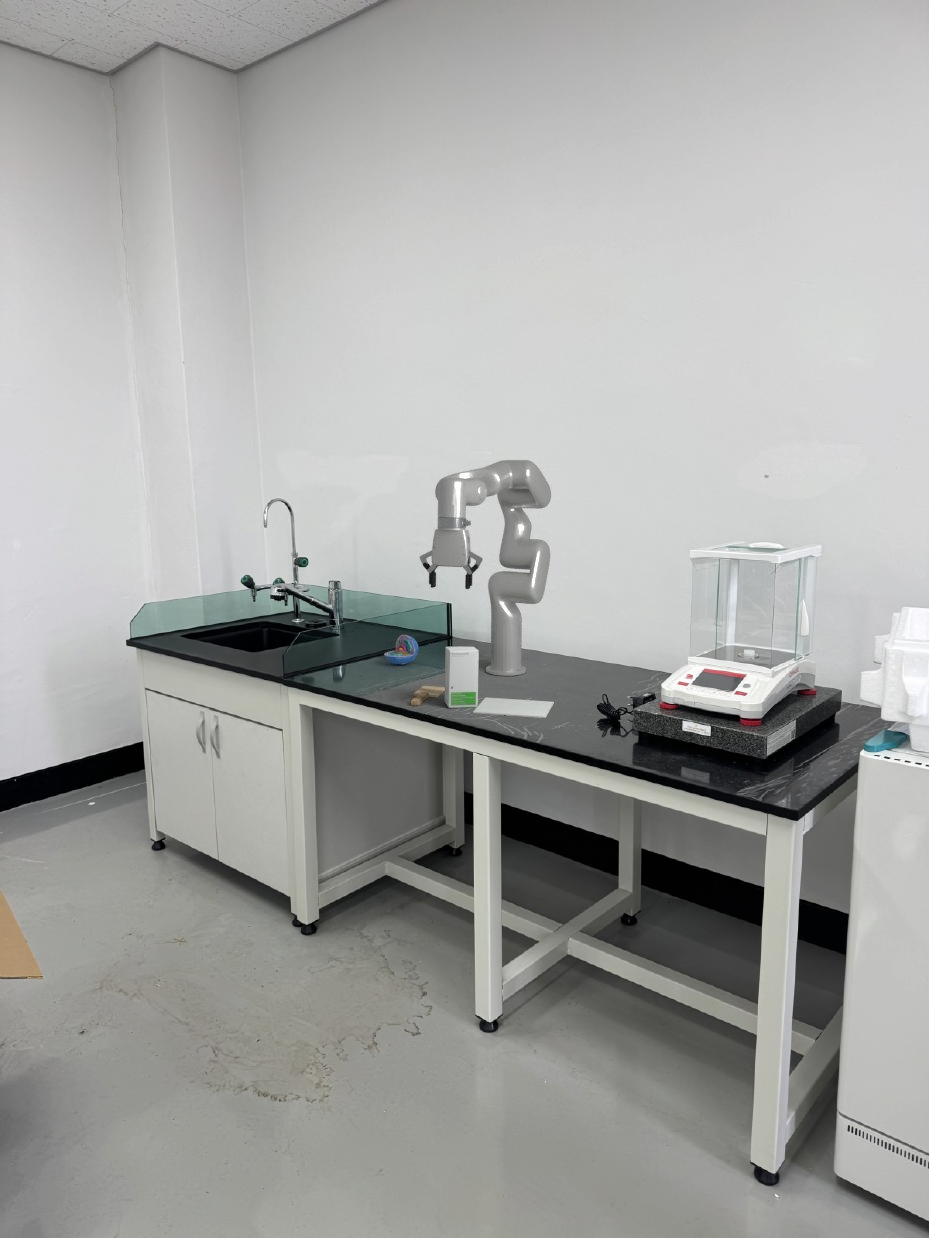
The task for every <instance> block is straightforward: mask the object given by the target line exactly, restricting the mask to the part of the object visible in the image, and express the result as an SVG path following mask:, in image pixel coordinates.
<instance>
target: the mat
mask: <svg viewBox="0 0 929 1238" xmlns="http://www.w3.org/2000/svg"><path fill="white" fill-rule="evenodd" d="M554 703H555V702H554V701H545V700H534V699H533V700H529V699H516V698H515V699H514V698H513V699H512V698H502V697H485V698H483V700H482V701H481V702H480V703H478V707H475V708H474V710H473V711H472V714H478V715H492V716H504V715H506V716H507V717H519V718H520V717H521V718H535V719H546V718H547V716H548V715H549V713H550V711H551V709H552V708H553V706H554ZM506 716H505V717H506Z"/></svg>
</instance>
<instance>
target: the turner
mask: <svg viewBox="0 0 929 1238" xmlns="http://www.w3.org/2000/svg"><path fill="white" fill-rule="evenodd" d="M443 691H444V692H445V686H436V685H422V686H421V687H419V688H418V689H417V690H416V691H414V693H412V696H413V697H414V698H412V699H411V700H410V705H411V706H420V705H421V704H422V703H423V702H424V701H425V700H426V699H428V698H429V697H430V698H438V697H439V696H440V695H442V694H443V693H444V692H443Z"/></svg>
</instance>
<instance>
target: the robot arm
mask: <svg viewBox="0 0 929 1238" xmlns="http://www.w3.org/2000/svg"><path fill="white" fill-rule="evenodd" d="M434 494H435V498H436V500H437V529H436V528H435V529H434V533H433V537H432V538H433V540H432V548H431V550H430V551H428V552H426V553H423V554H422V555H420V556H419V560H420V562H421V564H422V566H423V568H424V569H425V570H426V571H427V573H428V585H430V588H431V589H432V588H433V589H434V588H435V587H437V572H436V570H437V568H439V567H448V568H449V567H451V568H463V569H464V571H465V572H466V574H465V578H464V579H465V580H464V583H465V586H464V589H465V590H469V589H470V590H471V587H472V586H473V574H474V573H475V572H476V571H477V570H478V569H479V568H480V566H481V564H482V562H483V557H482V556H479V555H478V554H476V553H474V552H472V551H471V550H472V549H471V538H470V531H469V529H467V527H468V526H469V527H470V526H471V525H472V521H471V520H468V519H467V518H466V514H467V512H466V511H467V507H475V506H480V505H481V504H483V503H484V502H485V500H486V498H487V497H488V498H489V497H493V496H497V501H498V504H499V506H500V509H501V512H502V515H503V519H504V526H503V527H504V528H503V535H502V539H501V544H500V549H499V556H498V560H499V563H500V565H501V566H502V567H504V568H507V569H510V570H509V571H508V570H503V571H497V572H494V573H492V575H491V576H490V577H489V579H488V583H487V589H488V595H489V600H490V601H489V602H490V615H491V617H490V618H491V619H490V621H491V622H490V665H488V666H486V667H485V672H486V673H488V674H490V675H493V676H501V677H504V676H505V677H508V676H509V677H511V676H512V677H513V676H520V675H524V674H525V673H527V667H526V666H524V665H522V636H523V634H522V632H523V631H522V629H523V626H522V625H523V624H522V623H523V617H522V613H521V610H520V609H519V607H518V605H517V604H524V605H526V604H528V605H536V604H539V603H540V602H541V601H542V599H543V597H544V594H545V589H546V586H547V585H546V584H547V579H548V575H549V574H548V573H549V568H550V561H551V551H550V546H549V544H548V542H546V541H545V540H543V539H538V538H537V539H536V538H531V534H532V528H533V525H532V522H531V520H530V518H529V517H528V515H527V513H526V512H525V511H524V509H535V510H536V509H545V508H546V507H548V505H549V504H550V503H551V499H552V491H551V486H550V485H549V483H548V481H547V479H546V477H545V476H544V474H543V472H542V471H541V468H539V467H538V465H537V464H536V463H535V462H533V461H532V460H529V459H505V460H499V461H497V462H493V463H492V464H489V465H486V466H484V467H480V468H476V469H471V470H467V471H461V472H455V473H452V474H451V473H450V474H448V475H446V476H444V477H442V478H440V479H439V481H438V482H437V483H436V486H435V490H434ZM429 557H431V563H432V564H431V565H430V563H428V561H427V559H428V558H429ZM472 559H473V560H475V562H474V564H473V566H471V561H472ZM511 569H515V570H526V571H527V570H528V571H529V572H526V571H525V572H524V571H523V572H522V571H521V572H520V571H511Z"/></svg>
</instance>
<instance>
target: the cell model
mask: <svg viewBox="0 0 929 1238" xmlns="http://www.w3.org/2000/svg"><path fill="white" fill-rule="evenodd" d="M419 651H420V649H419V644H418V642H417V641H416V639H415V638H414V637H412V636H410V635H407V634H401V635H399V637H398V638H397V639H396V641H395V649H394V650H392V651H391V650H390V651H387V652H385V653H384V654H383V655H384V657H385V659H386V660H387V661H388V662H389V663H391V664H393V663H395V664H394V665H396V664H402V663H408V662H410V663H411V661H412V662H413V661H414V660H415V659H417V656H418V654H419ZM408 664H409V663H408Z"/></svg>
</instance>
